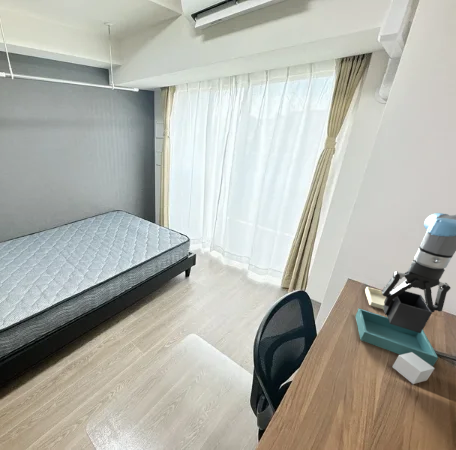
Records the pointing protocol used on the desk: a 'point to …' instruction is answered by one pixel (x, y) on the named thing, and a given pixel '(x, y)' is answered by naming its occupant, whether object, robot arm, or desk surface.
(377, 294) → the tray
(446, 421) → the desk surface
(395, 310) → the small bin
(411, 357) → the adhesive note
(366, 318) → the tray
